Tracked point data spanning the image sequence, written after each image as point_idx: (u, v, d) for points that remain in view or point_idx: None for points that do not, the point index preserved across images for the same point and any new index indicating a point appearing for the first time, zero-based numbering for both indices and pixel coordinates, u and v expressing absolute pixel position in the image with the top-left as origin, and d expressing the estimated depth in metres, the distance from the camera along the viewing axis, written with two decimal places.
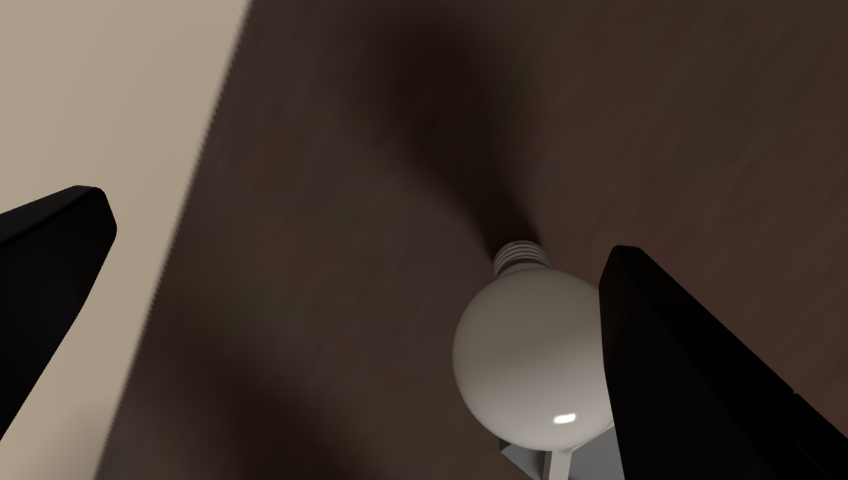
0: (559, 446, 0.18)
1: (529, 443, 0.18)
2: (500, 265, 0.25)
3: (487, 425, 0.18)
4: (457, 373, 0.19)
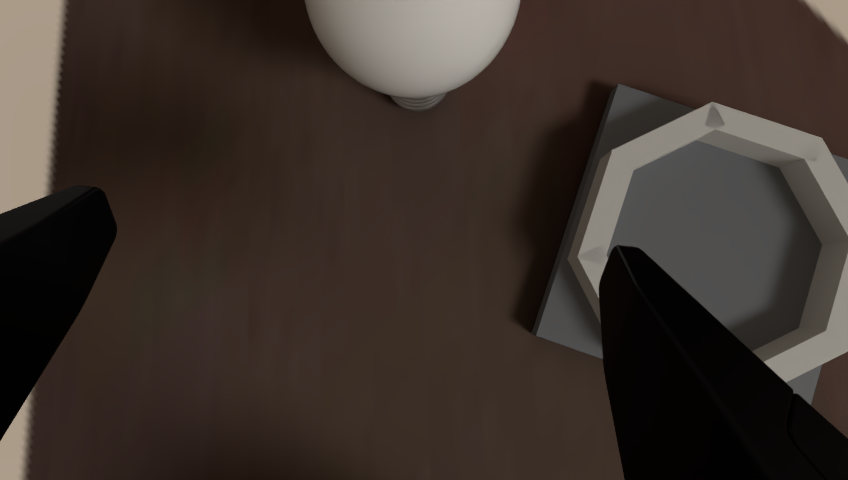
0: None
1: None
2: None
3: (364, 15, 0.14)
4: (313, 8, 0.15)
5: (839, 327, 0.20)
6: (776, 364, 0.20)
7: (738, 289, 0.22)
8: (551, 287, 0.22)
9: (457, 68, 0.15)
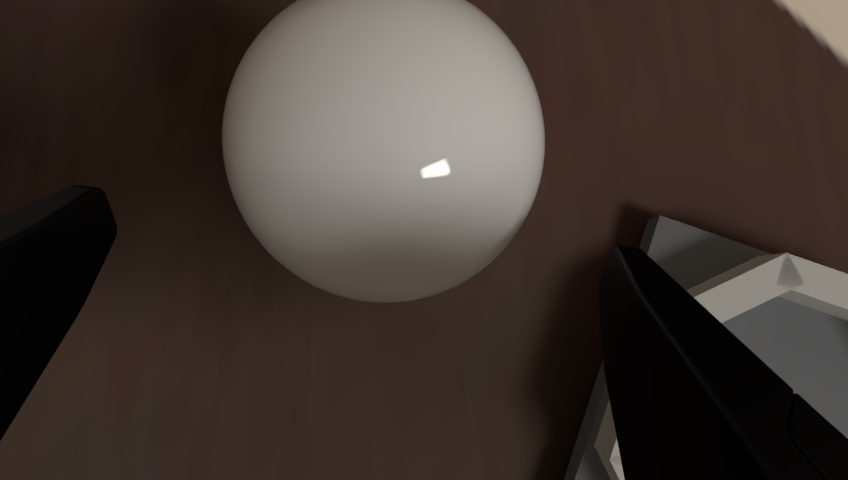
0: (435, 172, 0.08)
1: (375, 196, 0.08)
2: None
3: (302, 232, 0.09)
4: (234, 198, 0.10)
5: None
6: None
7: None
8: None
9: (448, 283, 0.10)
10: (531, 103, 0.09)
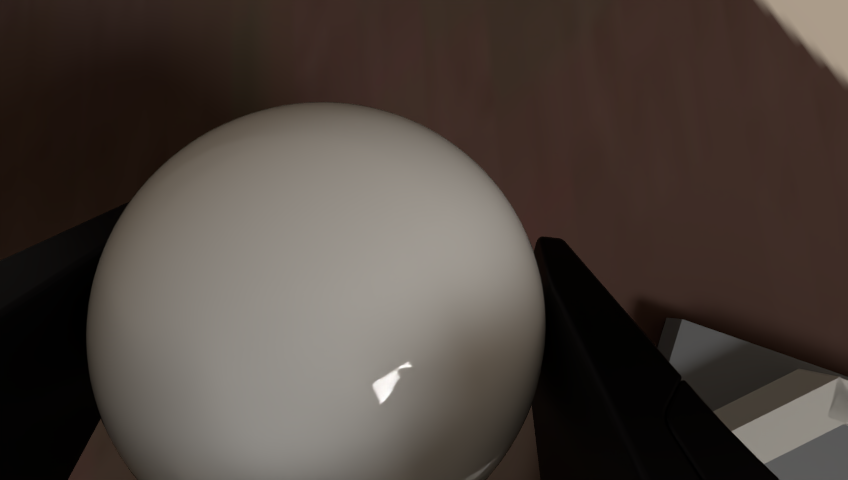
0: (379, 447, 0.05)
1: None
2: None
3: None
4: None
5: None
6: None
7: None
8: None
9: None
10: (526, 295, 0.07)
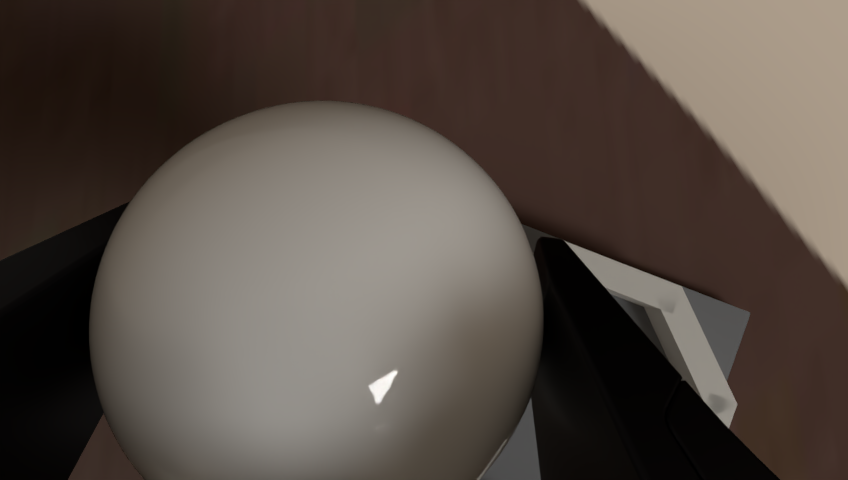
0: (384, 441, 0.05)
1: (295, 478, 0.05)
2: None
3: None
4: None
5: None
6: None
7: None
8: None
9: None
10: (526, 292, 0.07)
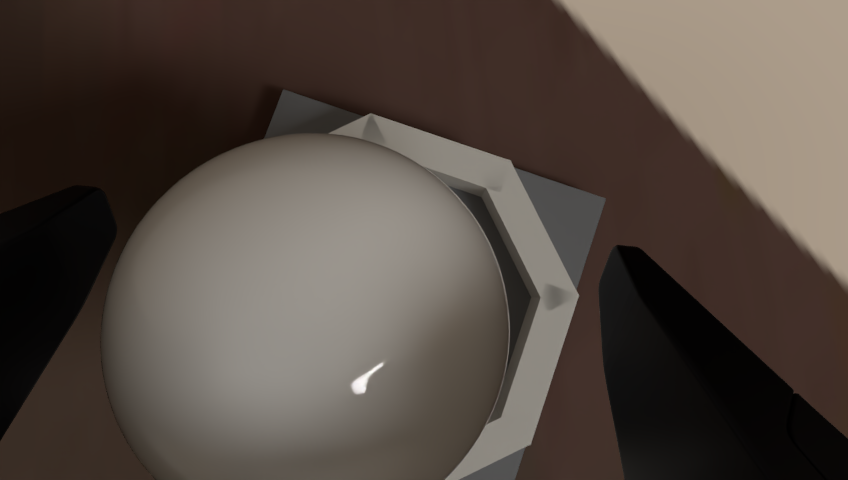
0: (353, 441, 0.06)
1: (275, 473, 0.06)
2: None
3: None
4: None
5: (519, 412, 0.15)
6: None
7: None
8: None
9: None
10: (486, 306, 0.07)
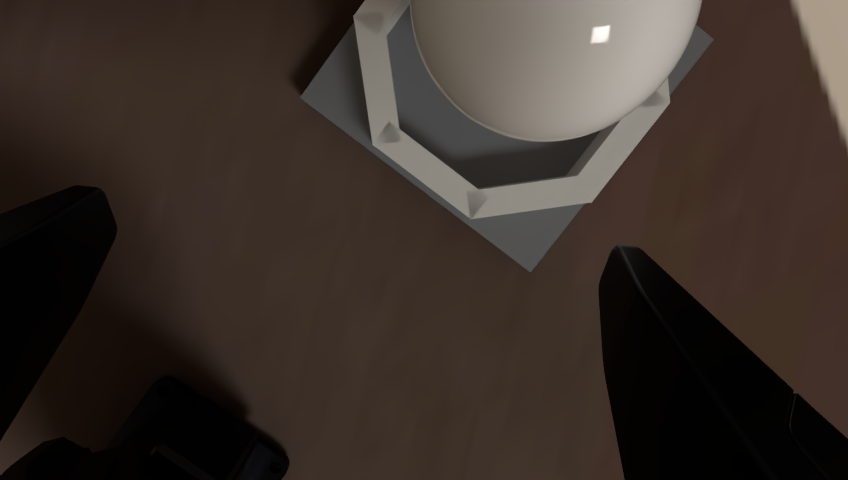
0: (618, 33, 0.10)
1: (564, 38, 0.10)
2: None
3: (486, 51, 0.10)
4: (421, 5, 0.11)
5: (591, 177, 0.19)
6: (515, 193, 0.19)
7: None
8: (331, 53, 0.20)
9: (569, 134, 0.12)
10: None
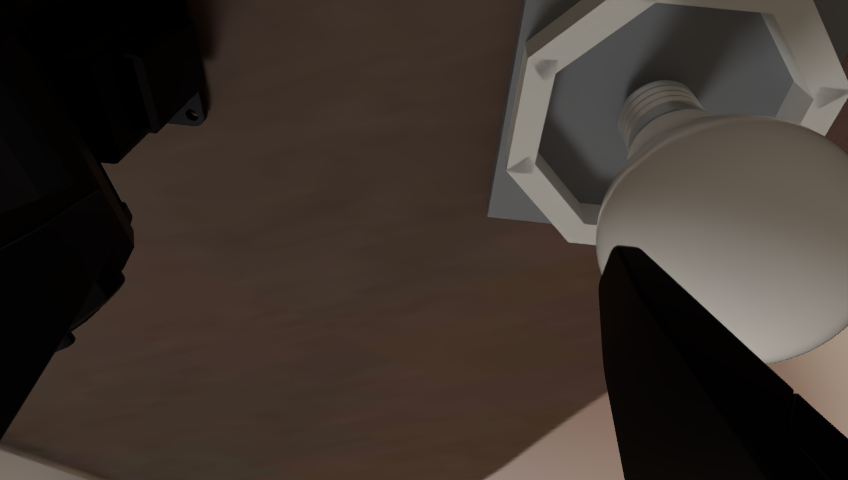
0: None
1: None
2: (670, 98, 0.18)
3: None
4: (683, 188, 0.12)
5: (588, 233, 0.22)
6: (547, 190, 0.21)
7: (613, 149, 0.21)
8: None
9: None
10: None
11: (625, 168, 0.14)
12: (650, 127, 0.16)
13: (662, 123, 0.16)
